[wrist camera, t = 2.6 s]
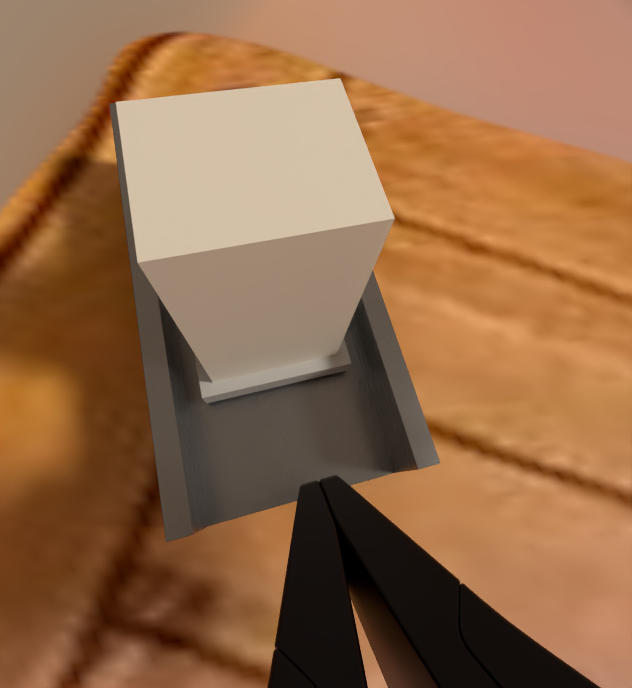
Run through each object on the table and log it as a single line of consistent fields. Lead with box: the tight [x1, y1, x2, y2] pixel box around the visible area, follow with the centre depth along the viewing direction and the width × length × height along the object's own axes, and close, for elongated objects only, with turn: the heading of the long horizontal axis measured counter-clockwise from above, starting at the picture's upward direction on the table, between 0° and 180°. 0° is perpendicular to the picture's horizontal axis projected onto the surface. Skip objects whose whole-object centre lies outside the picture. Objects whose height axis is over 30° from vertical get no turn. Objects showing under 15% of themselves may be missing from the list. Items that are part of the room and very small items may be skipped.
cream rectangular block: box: [116, 78, 395, 403], centre depth 13 cm, size 5×6×10 cm
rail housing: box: [110, 103, 440, 542], centre depth 17 cm, size 18×9×4 cm, turn 15°
